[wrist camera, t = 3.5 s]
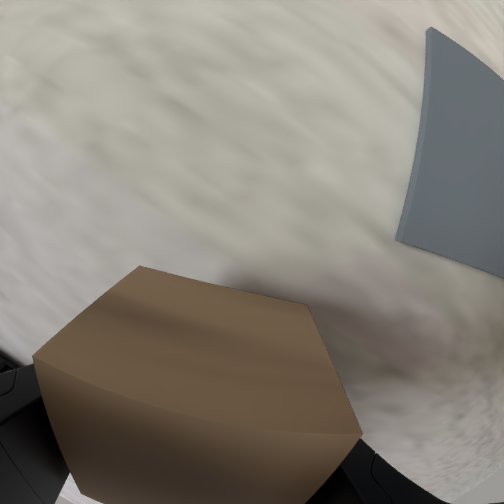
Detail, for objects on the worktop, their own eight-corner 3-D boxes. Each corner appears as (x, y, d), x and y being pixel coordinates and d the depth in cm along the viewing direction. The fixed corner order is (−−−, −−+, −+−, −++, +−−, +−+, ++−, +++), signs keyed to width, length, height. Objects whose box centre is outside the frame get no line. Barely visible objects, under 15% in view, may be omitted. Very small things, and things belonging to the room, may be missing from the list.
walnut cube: (263, 420, 9) (268, 536, 4) (131, 390, 9) (81, 493, 4) (306, 304, 8) (362, 433, 3) (139, 265, 8) (32, 355, 3)
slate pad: (518, 283, 11) (523, 286, 10) (395, 239, 10) (401, 242, 9) (541, 125, 8) (546, 125, 8) (426, 30, 8) (431, 26, 7)
